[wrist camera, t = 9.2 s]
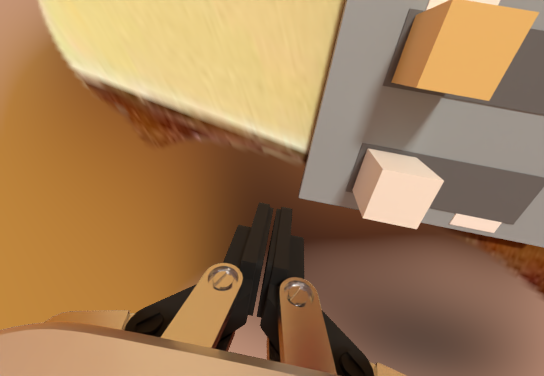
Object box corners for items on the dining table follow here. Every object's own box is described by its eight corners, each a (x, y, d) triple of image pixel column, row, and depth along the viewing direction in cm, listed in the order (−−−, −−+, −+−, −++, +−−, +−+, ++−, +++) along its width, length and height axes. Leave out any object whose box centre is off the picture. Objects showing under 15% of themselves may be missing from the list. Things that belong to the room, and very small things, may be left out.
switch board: (720, 30, 15) (756, 27, 14) (534, 239, 23) (546, 248, 22) (352, -30, 16) (356, -37, 14) (298, 192, 24) (298, 198, 22)
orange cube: (479, 25, 15) (539, 12, 11) (447, 92, 17) (489, 101, 13) (415, 15, 15) (453, -2, 11) (391, 82, 17) (416, 87, 13)
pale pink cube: (416, 157, 19) (444, 180, 15) (396, 198, 21) (416, 229, 17) (367, 148, 19) (383, 169, 16) (352, 190, 21) (362, 218, 17)
